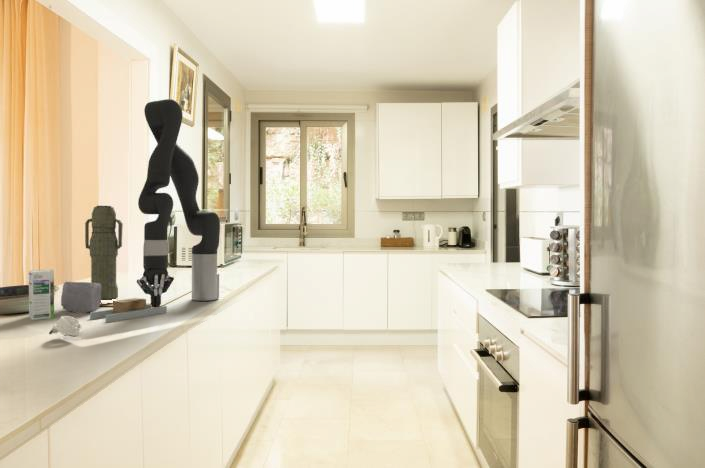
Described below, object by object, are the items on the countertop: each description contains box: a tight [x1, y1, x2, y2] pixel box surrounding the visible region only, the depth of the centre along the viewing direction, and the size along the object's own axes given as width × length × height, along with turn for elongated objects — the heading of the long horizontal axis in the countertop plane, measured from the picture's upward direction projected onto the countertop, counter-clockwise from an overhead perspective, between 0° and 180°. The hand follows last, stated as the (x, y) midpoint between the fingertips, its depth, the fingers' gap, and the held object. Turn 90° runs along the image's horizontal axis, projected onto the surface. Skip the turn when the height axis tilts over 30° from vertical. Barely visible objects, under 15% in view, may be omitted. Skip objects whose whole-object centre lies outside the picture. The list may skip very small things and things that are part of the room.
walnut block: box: [112, 297, 147, 314], centre depth 151 cm, size 8×5×5 cm, turn 155°
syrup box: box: [28, 269, 55, 321], centre depth 146 cm, size 6×6×14 cm
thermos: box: [84, 205, 124, 300], centre depth 172 cm, size 9×12×35 cm
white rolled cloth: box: [48, 315, 83, 337], centre depth 124 cm, size 8×7×5 cm
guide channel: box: [89, 303, 168, 323], centre depth 151 cm, size 20×9×2 cm, turn 149°
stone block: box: [60, 281, 101, 314], centre depth 156 cm, size 12×5×10 cm, turn 84°
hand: (155, 306), depth 159 cm, fingers closed
